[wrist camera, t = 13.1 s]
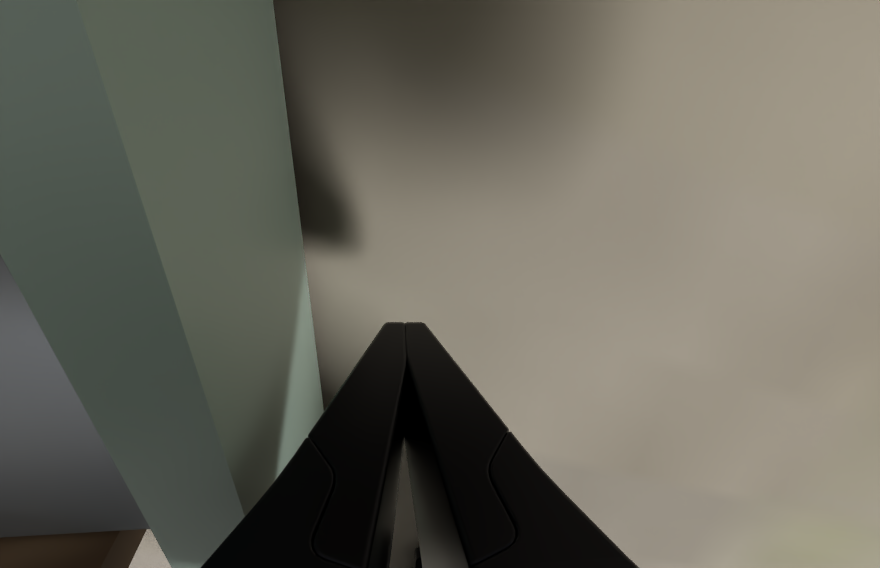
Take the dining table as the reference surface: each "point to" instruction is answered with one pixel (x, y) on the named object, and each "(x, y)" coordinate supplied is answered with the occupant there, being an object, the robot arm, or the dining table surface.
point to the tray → (148, 270)
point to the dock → (71, 550)
